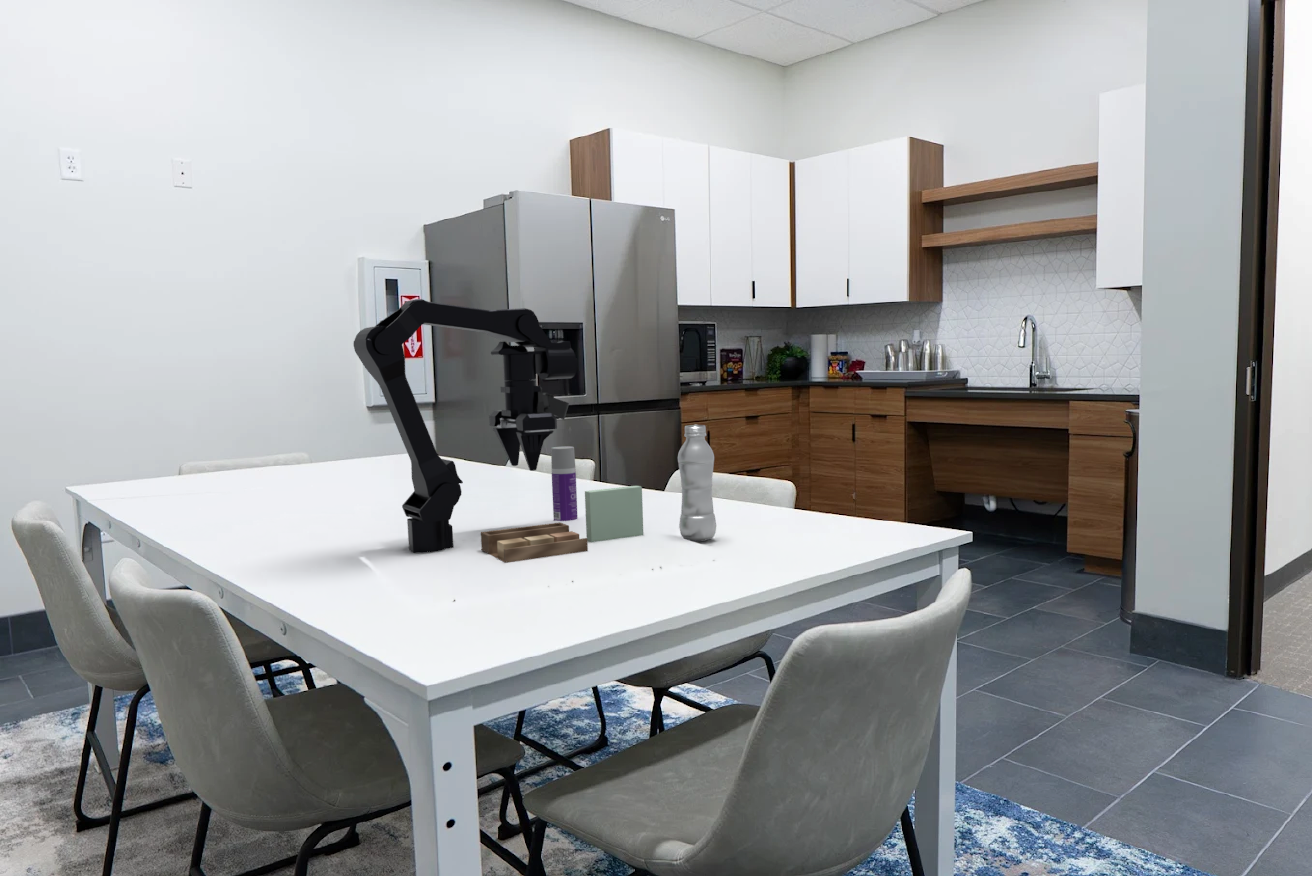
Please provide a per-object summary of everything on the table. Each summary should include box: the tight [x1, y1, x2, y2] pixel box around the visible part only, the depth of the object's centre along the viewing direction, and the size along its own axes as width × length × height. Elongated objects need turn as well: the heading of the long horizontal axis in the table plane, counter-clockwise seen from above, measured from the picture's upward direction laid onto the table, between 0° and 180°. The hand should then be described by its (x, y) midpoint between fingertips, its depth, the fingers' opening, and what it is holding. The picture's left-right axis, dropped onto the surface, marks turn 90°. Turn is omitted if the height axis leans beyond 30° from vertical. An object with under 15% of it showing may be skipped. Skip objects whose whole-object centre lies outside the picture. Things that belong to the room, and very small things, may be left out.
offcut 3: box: [550, 530, 580, 542], centre depth 150 cm, size 4×3×2 cm
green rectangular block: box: [584, 485, 644, 543], centre depth 158 cm, size 10×2×9 cm, turn 119°
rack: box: [480, 521, 589, 564], centre depth 150 cm, size 14×12×4 cm
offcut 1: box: [497, 538, 528, 559], centre depth 145 cm, size 4×3×2 cm
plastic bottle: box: [677, 424, 717, 543], centre depth 157 cm, size 6×7×20 cm
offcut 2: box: [524, 535, 554, 546], centre depth 148 cm, size 4×3×2 cm
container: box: [550, 445, 579, 522], centre depth 178 cm, size 5×5×15 cm
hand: (523, 468), depth 163 cm, fingers open, 9 cm apart
